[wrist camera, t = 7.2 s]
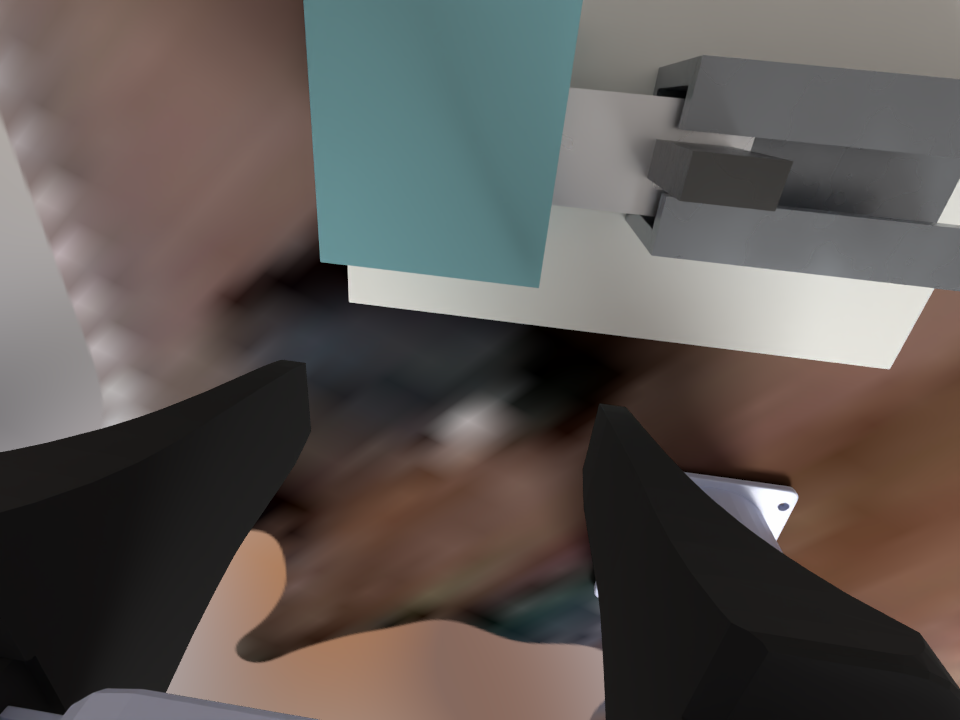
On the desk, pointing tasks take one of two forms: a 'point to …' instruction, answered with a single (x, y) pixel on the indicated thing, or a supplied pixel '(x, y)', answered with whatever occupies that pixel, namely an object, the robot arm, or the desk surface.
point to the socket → (438, 132)
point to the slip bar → (655, 158)
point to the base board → (696, 284)
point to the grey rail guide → (822, 171)
